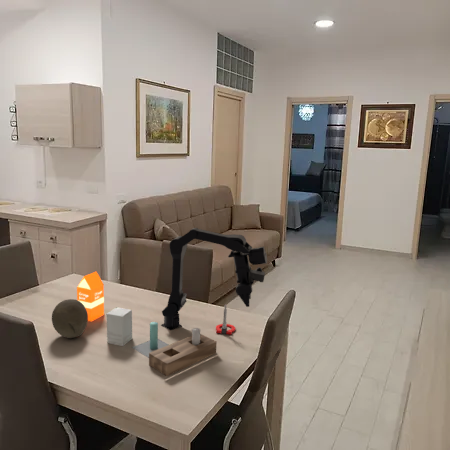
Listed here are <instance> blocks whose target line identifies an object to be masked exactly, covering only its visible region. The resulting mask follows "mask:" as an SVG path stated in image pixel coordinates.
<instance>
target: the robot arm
mask: <svg viewBox="0 0 450 450" xmlns="http://www.w3.org/2000/svg"><path fill="white" fill-rule="evenodd" d="M193 240H198V241H204V242H208V243H212V244H217V245H220V246H222V247H225V248H226V249H228V250H231V251H230V253H229V255H228V256H227V257H228V258H233V263H234V268H235V271H234V272H235V274H236V282H237V285H236V286H235V293H236V294H237V295H238V297H239V298H240V300H241V301H242V303H244V305H245V306H246V307H247V308H249V307H250V300H251V298H252V297H251V296H252V295H251V294H252V293H253V284H254V282H260V283H264V281H265V274H266V272H265V271H263V269H262V267H257V268H255V269H252V266H250V264H252V265H253V266H255V265H265V264H268V254H267V252H266V249H265V246H260V247H253V246H252V245H251V244H250V243H249V242H247V239H246V237H245V236H244V235H242V234H233V233H232V234H223V233H218V232H213V231H210V230H205V229H200V228H198V227H193V228H191V229H190V230H188V232H187V233H185V234H184V235H183V236H182V235H179V236H177V237H175V238H173V239H172V240H171V241H170V242H169V252H170V256H171V258H172V268H171V269H172V273H171V291H170V294H169V297H168V301H167V305H166V307H164V308H163V310H162V311H161V313H162V316H163V317H164V318H163V321H164V323H162V324H161V325H160V326H161V327H164V328H165V329H166V330H167V329H168V330H169V331H172V330H174V329H175V330H176V329H177V328H181V327H182V326H183V325H182V324H181V323H180V313H179V312H180V310H181V309H183V307H184V306H185V304H186V303H187V294H188V293H184V290H183V277H184V276H183V275H184V273H183V272H184V257H185V254H186V251H187V249H188V248H187V247H188V244H189V243H191V242H192V241H193Z"/></svg>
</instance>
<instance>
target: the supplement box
mask: <svg viewBox="0 0 450 450" xmlns="http://www.w3.org/2000/svg"><path fill="white" fill-rule="evenodd" d="M106 337H107V339H106V340H107V341H106V342H107V343H108V344H111V345H115V346H121V347H123V346H125V345H126V344H127V343H129V342H130V341H131V340H132V339H133V310H132V309H129V308H123V307H119V306H118V307H115V308H113V309H112V310H110V311H109V312H106Z"/></svg>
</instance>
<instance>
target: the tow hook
mask: <svg viewBox="0 0 450 450" xmlns="http://www.w3.org/2000/svg"><path fill="white" fill-rule="evenodd" d="M227 313H228V309H227V304H224V308H223V322H222V323H221V324H217V325H216V326H215V330H216V331H215V333H216V334H221V335H232V334H233V333H234V332H235V331H236V327H235V326H234V325H232V324H229V323H227ZM228 328H230V329H228Z"/></svg>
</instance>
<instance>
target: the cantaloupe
mask: <svg viewBox="0 0 450 450" xmlns="http://www.w3.org/2000/svg"><path fill="white" fill-rule="evenodd" d="M51 322H52V326H53V328H54V330H55V331H56V333H58V334H59V335H60V336H61V337H64V338H67V339H74V338H77V337H79V336H81V335H82V334H83V333H84V332H85V330H86V328H87V325H88V322H89V321H88V313H87V310H86V308H85V306H84V305H83V304H82V303H81V302H80V301H78V300H77V299H64V300H61V301H60V302H59V303H58V304H57V305H56V306H55V307H54V309H53V310H52V314H51Z"/></svg>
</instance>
